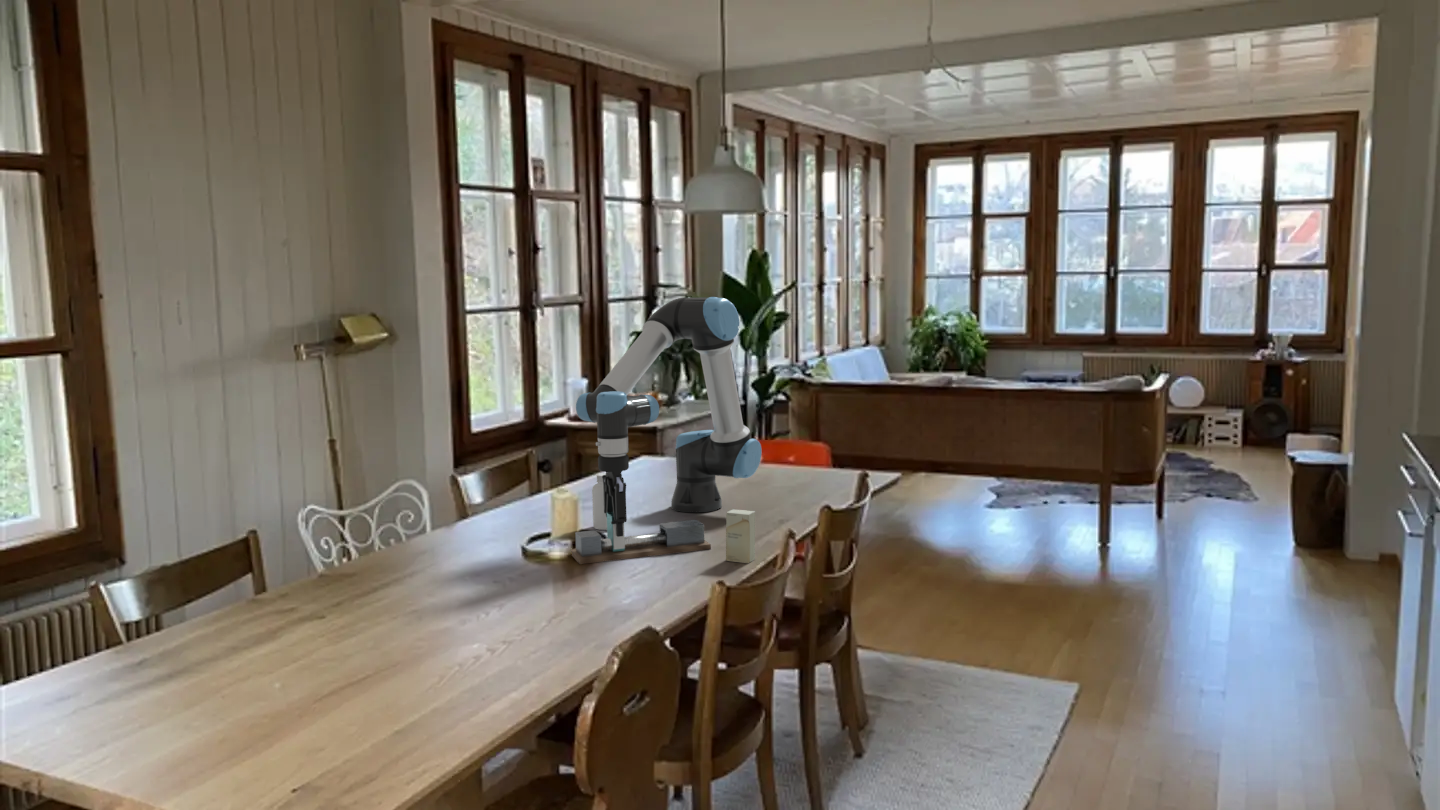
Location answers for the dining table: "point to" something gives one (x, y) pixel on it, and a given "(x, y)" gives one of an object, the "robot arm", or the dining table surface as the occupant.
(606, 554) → the board
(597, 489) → the pill bottle
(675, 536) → the sleeve
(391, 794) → the dining table surface
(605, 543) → the sliding bolt
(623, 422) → the robot arm
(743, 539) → the skincare box
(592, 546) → the grey cube
